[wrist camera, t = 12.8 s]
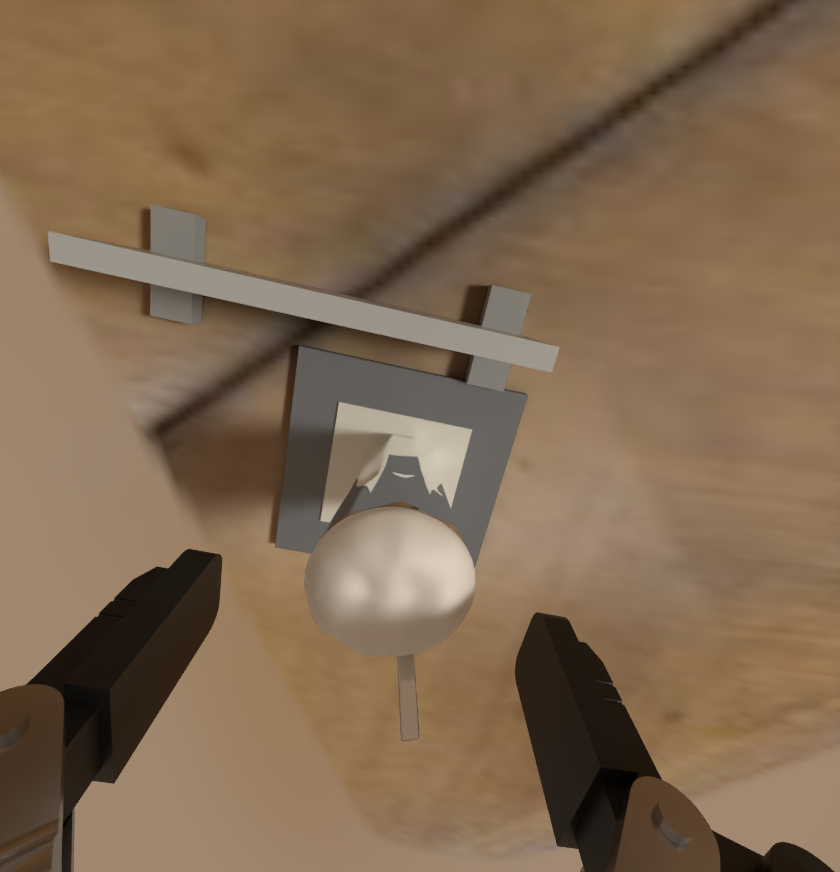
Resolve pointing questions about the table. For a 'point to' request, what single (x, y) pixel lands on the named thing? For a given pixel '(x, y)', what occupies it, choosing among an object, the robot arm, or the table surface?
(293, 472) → the mat
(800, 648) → the table surface
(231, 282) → the divider wall
